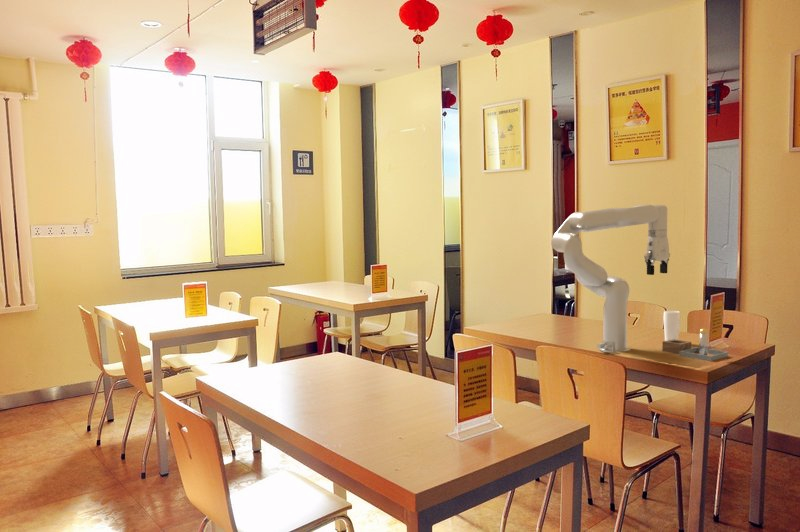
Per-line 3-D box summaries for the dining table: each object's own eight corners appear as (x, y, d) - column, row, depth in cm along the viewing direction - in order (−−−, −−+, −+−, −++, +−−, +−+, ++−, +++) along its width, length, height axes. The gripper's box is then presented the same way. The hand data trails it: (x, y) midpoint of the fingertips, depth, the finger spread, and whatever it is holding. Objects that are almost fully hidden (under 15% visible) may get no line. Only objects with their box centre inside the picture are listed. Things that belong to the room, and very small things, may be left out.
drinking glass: (669, 347, 279) (670, 313, 278) (659, 344, 285) (660, 311, 284) (683, 346, 280) (683, 312, 279) (672, 343, 287) (673, 310, 286)
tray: (710, 363, 247) (710, 356, 247) (679, 358, 258) (679, 351, 258) (727, 358, 255) (728, 351, 255) (696, 353, 266) (696, 346, 265)
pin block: (680, 356, 260) (680, 344, 260) (662, 353, 267) (662, 341, 266) (691, 353, 265) (691, 342, 264) (673, 350, 271) (673, 339, 271)
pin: (705, 358, 254) (705, 329, 253) (697, 356, 257) (697, 328, 256) (709, 357, 256) (709, 328, 255) (701, 355, 259) (702, 327, 258)
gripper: (653, 234, 266) (653, 275, 267) (677, 233, 276) (676, 273, 277) (637, 234, 272) (637, 274, 273) (661, 233, 282) (660, 272, 283)
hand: (657, 273), depth 275 cm, fingers open, 9 cm apart
